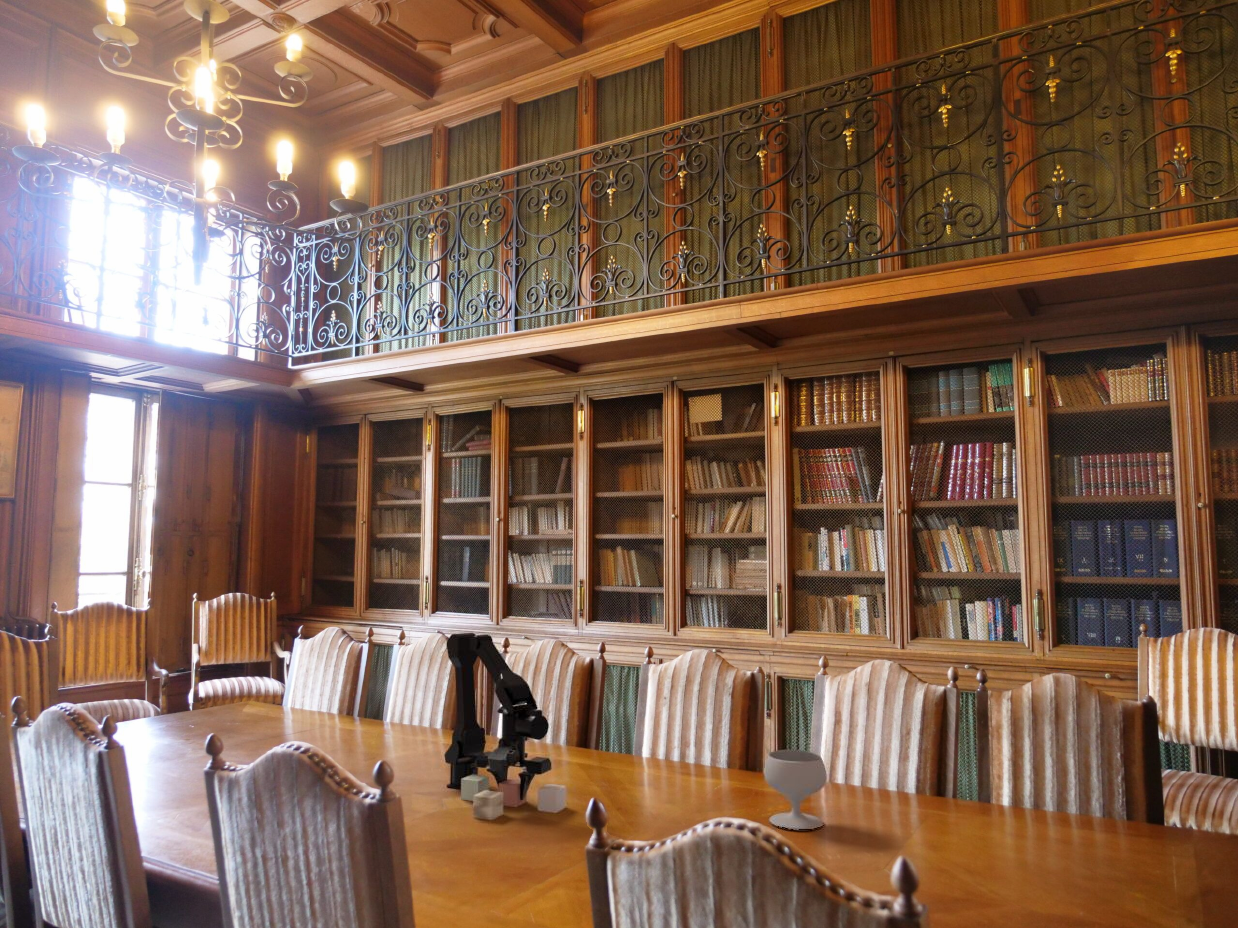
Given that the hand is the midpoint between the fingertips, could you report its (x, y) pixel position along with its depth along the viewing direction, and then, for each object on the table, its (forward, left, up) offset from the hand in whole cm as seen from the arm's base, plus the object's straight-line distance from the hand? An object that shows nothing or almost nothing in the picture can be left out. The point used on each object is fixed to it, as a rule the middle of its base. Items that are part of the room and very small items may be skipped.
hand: (512, 798), depth 206 cm
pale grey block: (+11, 0, -1) cm, 11 cm away
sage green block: (-11, 0, -1) cm, 11 cm away
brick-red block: (0, 0, -1) cm, 1 cm away
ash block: (0, -11, -1) cm, 11 cm away
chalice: (+67, +13, -1) cm, 68 cm away
